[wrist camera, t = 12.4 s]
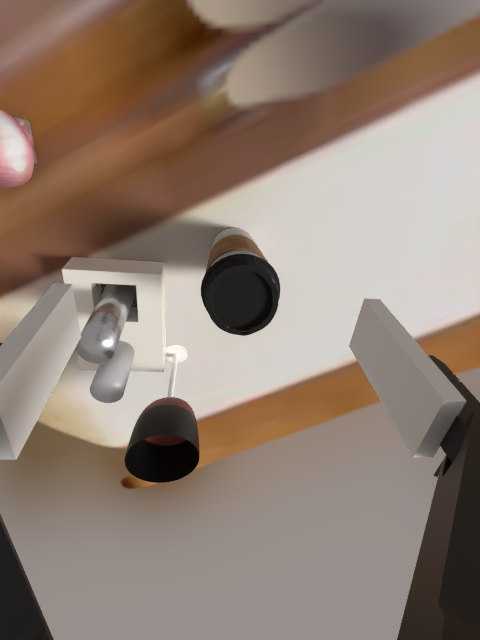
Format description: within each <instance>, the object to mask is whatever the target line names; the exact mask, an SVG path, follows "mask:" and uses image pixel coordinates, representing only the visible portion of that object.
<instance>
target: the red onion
mask: <svg viewBox="0 0 480 640" xmlns="http://www.w3.org/2000/svg"><path fill="white" fill-rule="evenodd" d="M36 164H37V158H36V153H35V148H34V143H33V137H32V132H31V126H30V121H28V120H25V119H21V118H17V117H12V116H11V115H9V114H8V113H6V112H4V111H2V110H1V109H0V188H2V189H7V188H16V187H19V186H22V185H24V184H25V183H26V182H27V181H28V180H29V179H30V178H31V176H32V173H33V169H34V166H35V165H36Z"/></svg>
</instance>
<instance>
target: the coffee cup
mask: <svg viewBox="0 0 480 640" xmlns="http://www.w3.org/2000/svg"><path fill="white" fill-rule="evenodd" d="M201 296H202V300H203V303H204V306H205V308H206V310H207V311H208V313H209V315H210V317H211V319H212V320H213V322H214V323H215V324H216V325H217V326H218V327H219V328H220V329H222V330H223V331H226V332H228V333H231V334H236V335H243V336H245V335H249V334H252V333H255V332H257V331H259V330H261V329H263V328H264V327H266V326H267V325H268V324H269V323H270V322H271V320H272V319H273V317H274V315H275V313H276V311H277V307H278V300H279V297H280V283H279V278H278V276H277V273H276V272H275V270H274V268H273V267H272V266H271V265H270V264H269V263H268V262H267V260H266V259H265V257H264V256H263V254H262V253H261V251H260V250H259V248H258V247H257V245H256V244H255V242H254V240H253V239H252V237H251V236H250V235H249V234H248V233H247V232H246V231H244V230H242V229H238V228H230V229H226V230H224V231H222V232H220V233H219V234H218V235H217V236H216V237H215V239H214V241H213V243H212V248H211V253H210V257H209V261H208V265H207V269H206V274H205V276H204V278H203V281H202V285H201Z"/></svg>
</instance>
